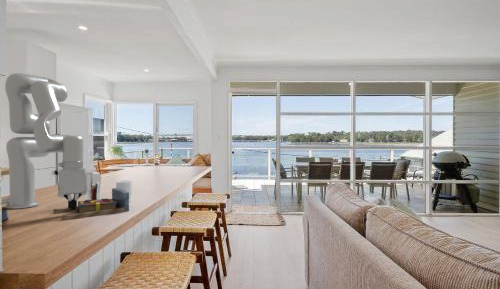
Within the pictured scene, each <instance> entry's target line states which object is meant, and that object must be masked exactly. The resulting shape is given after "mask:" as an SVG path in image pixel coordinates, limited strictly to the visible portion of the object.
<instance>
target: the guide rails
mask: <svg viewBox="0 0 500 289" xmlns="http://www.w3.org/2000/svg"><path fill="white" fill-rule="evenodd" d="M111 199H115V201H116V202H117V204H116V209H109V210H101V211H94V212H86V213H78V209H79V207H78V206H77V208H75V210H72V211H71V210H70V208H68V207H63V208H55V209H53V214H54V215H55V214H63V213H70V212H77V213H72V214H64V215H61V221H67V220H73V219H83V218H89V217H90V218H91V217H96V216H95V215H97V216H103V214H104V215H110V214H118V213H124V212H125V213H126V212H130V202H129V192H126V191H123V190H120V189H117V188H116V187H115V188H111ZM118 207H119V208H118Z"/></svg>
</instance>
